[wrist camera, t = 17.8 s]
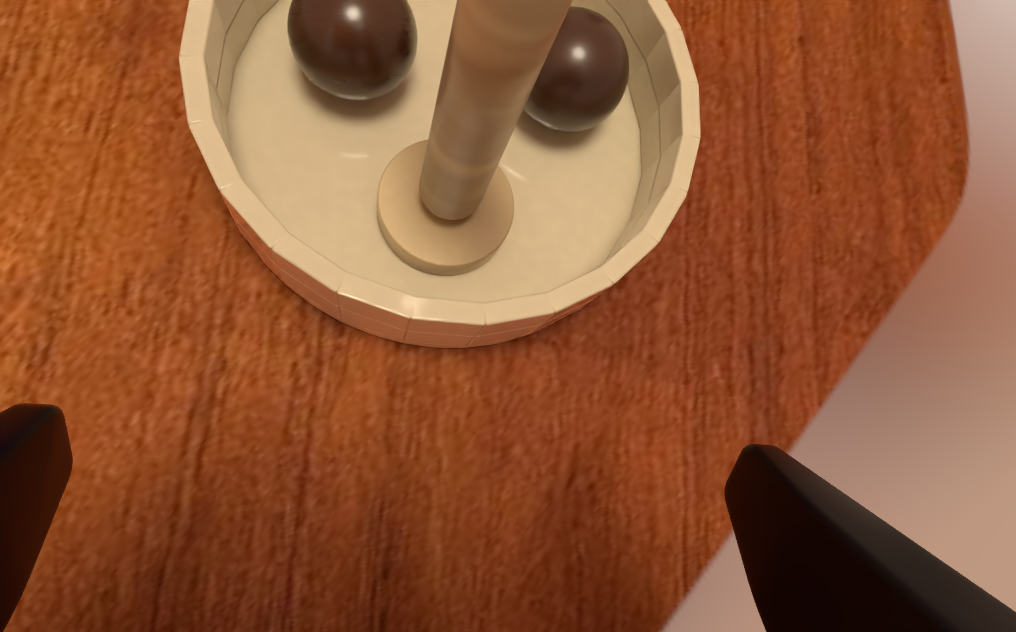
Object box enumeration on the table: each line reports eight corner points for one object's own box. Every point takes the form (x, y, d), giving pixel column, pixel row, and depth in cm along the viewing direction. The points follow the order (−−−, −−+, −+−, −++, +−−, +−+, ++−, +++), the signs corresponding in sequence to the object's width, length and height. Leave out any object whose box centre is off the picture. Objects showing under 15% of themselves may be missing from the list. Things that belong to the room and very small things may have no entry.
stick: (426, 300, 19) (715, -429, 4) (350, 191, 19) (311, -936, 4) (531, 234, 20) (1082, -518, 5) (459, 132, 20) (762, -891, 5)
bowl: (653, 364, 20) (710, 344, 17) (176, 327, 18) (132, 295, 14) (645, -8, 24) (692, -86, 21) (245, -91, 21) (224, -197, 18)
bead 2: (615, 146, 18) (648, 11, 17) (493, 119, 18) (518, -16, 17) (610, 141, 22) (637, 28, 21) (507, 119, 22) (529, 6, 21)
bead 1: (436, 107, 18) (436, -36, 17) (308, 109, 17) (296, -48, 15) (395, 94, 21) (392, -29, 20) (282, 95, 20) (269, -39, 18)
